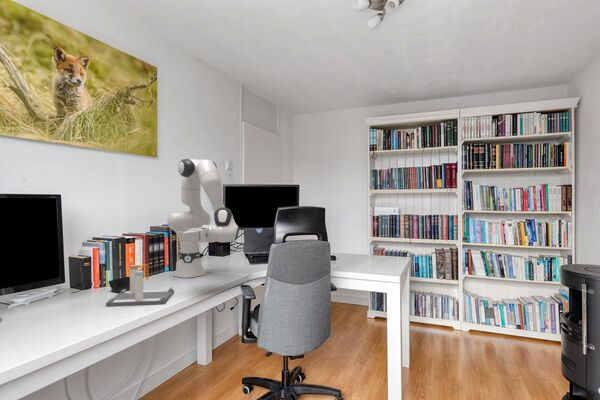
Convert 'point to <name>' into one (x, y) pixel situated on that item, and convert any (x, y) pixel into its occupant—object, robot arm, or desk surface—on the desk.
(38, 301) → the desk surface
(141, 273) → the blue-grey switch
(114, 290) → the handheld gaming console
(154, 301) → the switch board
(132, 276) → the grey upright post
